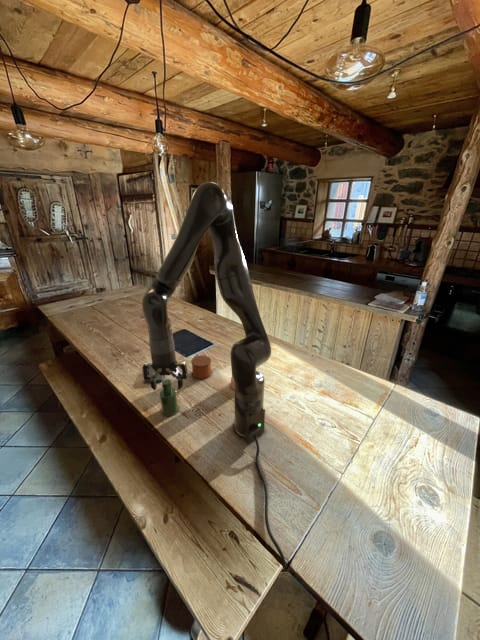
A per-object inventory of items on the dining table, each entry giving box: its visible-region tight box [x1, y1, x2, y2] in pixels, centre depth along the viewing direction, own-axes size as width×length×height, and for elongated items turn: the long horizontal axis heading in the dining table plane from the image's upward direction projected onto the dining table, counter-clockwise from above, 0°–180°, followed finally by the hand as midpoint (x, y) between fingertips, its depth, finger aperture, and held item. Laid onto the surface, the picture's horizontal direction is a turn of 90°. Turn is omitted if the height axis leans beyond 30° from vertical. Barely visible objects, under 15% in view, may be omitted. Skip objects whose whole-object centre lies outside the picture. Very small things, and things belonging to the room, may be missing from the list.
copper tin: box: [190, 355, 212, 380], centre depth 115 cm, size 8×8×7 cm
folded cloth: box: [143, 367, 165, 384], centre depth 115 cm, size 10×7×1 cm
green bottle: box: [159, 378, 179, 417], centre depth 93 cm, size 6×6×12 cm
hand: (167, 388), depth 92 cm, fingers open, 8 cm apart
